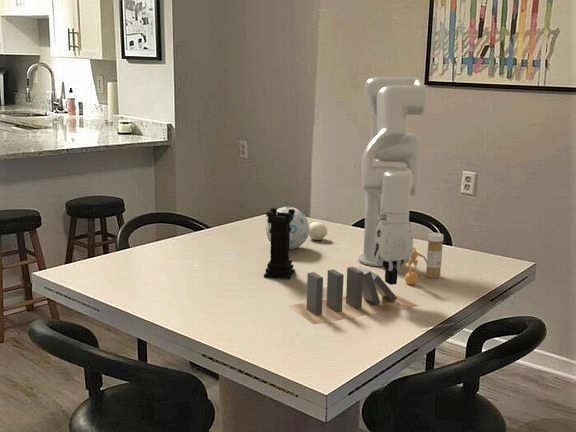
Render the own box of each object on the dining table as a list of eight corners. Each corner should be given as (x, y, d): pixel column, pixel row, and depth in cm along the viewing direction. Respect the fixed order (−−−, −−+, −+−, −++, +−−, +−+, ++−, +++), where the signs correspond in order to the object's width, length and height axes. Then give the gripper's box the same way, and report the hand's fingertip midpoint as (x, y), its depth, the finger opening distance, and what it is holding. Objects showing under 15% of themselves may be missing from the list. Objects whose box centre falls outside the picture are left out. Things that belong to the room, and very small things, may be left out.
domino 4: (369, 296, 178) (360, 265, 175) (380, 302, 174) (370, 271, 170) (364, 299, 178) (354, 268, 174) (374, 305, 173) (364, 274, 170)
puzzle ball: (258, 251, 224) (258, 209, 221) (276, 241, 237) (276, 201, 234) (299, 257, 218) (300, 213, 215) (314, 246, 232) (316, 205, 228)
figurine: (425, 283, 193) (428, 244, 191) (426, 290, 188) (428, 250, 185) (397, 281, 195) (399, 243, 192) (396, 288, 189) (399, 248, 186)
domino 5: (386, 292, 181) (367, 269, 176) (397, 297, 176) (377, 274, 172) (382, 297, 180) (363, 274, 176) (392, 302, 176) (373, 279, 171)
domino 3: (351, 302, 176) (353, 266, 174) (361, 308, 171) (363, 271, 169) (345, 303, 175) (347, 267, 173) (355, 309, 171) (357, 272, 168)
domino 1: (312, 308, 171) (313, 272, 168) (321, 314, 166) (323, 277, 164) (306, 309, 170) (307, 272, 168) (315, 316, 165) (316, 278, 163)
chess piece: (289, 279, 195) (291, 214, 190) (263, 277, 196) (264, 212, 192) (294, 271, 203) (296, 209, 198) (269, 269, 204) (270, 207, 200)
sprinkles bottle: (435, 273, 204) (438, 231, 201) (443, 277, 200) (446, 235, 197) (422, 274, 202) (425, 232, 199) (430, 279, 198) (433, 236, 195)
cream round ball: (323, 243, 236) (323, 225, 235) (304, 240, 239) (305, 223, 238) (330, 239, 242) (330, 221, 241) (312, 236, 245) (312, 219, 244)
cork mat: (388, 291, 186) (388, 289, 186) (418, 307, 174) (418, 305, 174) (288, 306, 172) (288, 305, 172) (313, 325, 160) (313, 324, 160)
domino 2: (332, 305, 173) (333, 269, 171) (342, 311, 169) (343, 274, 167) (326, 306, 172) (327, 270, 170) (336, 312, 168) (337, 275, 166)
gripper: (379, 223, 167) (375, 291, 171) (425, 218, 173) (421, 283, 177) (363, 217, 173) (360, 282, 177) (408, 212, 180) (404, 275, 184)
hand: (390, 283), depth 177 cm, fingers closed
